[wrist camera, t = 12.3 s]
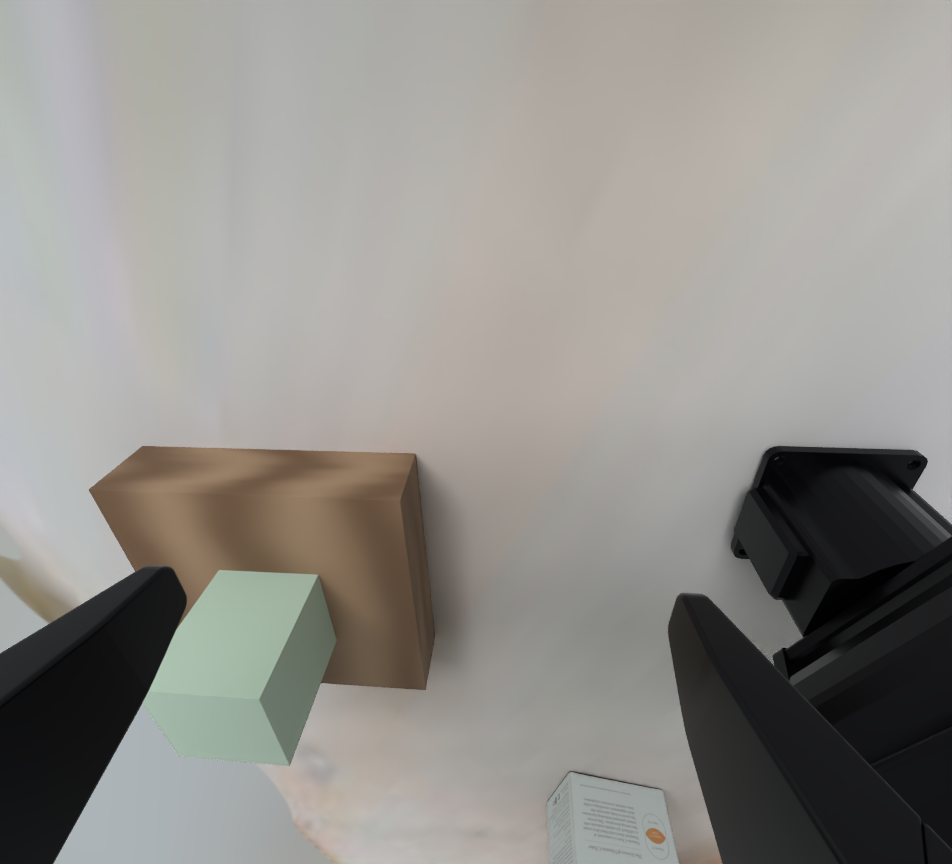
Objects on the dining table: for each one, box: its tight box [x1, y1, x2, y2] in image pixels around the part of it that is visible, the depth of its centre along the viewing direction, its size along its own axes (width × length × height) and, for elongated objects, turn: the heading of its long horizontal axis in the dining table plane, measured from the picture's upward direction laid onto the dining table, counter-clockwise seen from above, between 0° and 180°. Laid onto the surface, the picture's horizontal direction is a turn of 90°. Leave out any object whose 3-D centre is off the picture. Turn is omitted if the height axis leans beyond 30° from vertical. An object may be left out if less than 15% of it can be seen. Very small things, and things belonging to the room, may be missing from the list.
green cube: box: [142, 570, 337, 766], centre depth 22 cm, size 5×5×6 cm
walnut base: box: [89, 446, 435, 690], centre depth 26 cm, size 14×14×4 cm
